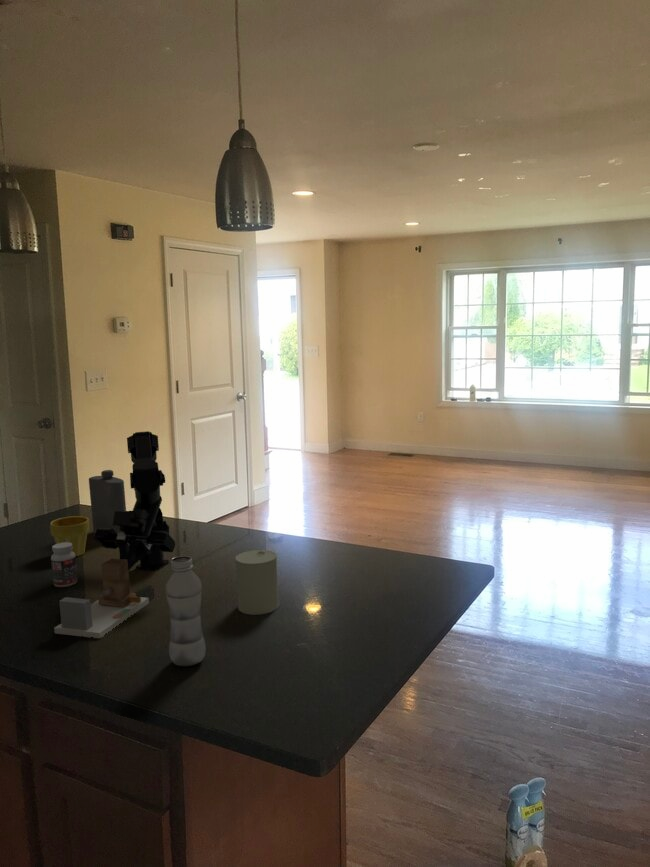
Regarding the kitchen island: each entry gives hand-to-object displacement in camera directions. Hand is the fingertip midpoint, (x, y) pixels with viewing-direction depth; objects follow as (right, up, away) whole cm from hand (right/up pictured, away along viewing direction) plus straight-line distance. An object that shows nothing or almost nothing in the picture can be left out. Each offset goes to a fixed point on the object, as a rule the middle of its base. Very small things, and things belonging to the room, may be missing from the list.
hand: (122, 573), depth 154 cm
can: (+31, -7, -3) cm, 32 cm away
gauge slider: (0, -6, -2) cm, 7 cm away
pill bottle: (-19, -6, +15) cm, 25 cm away
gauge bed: (-2, -8, -6) cm, 10 cm away
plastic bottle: (+21, -11, -28) cm, 36 cm away
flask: (-20, 0, +56) cm, 59 cm away
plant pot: (-25, -3, +38) cm, 46 cm away
